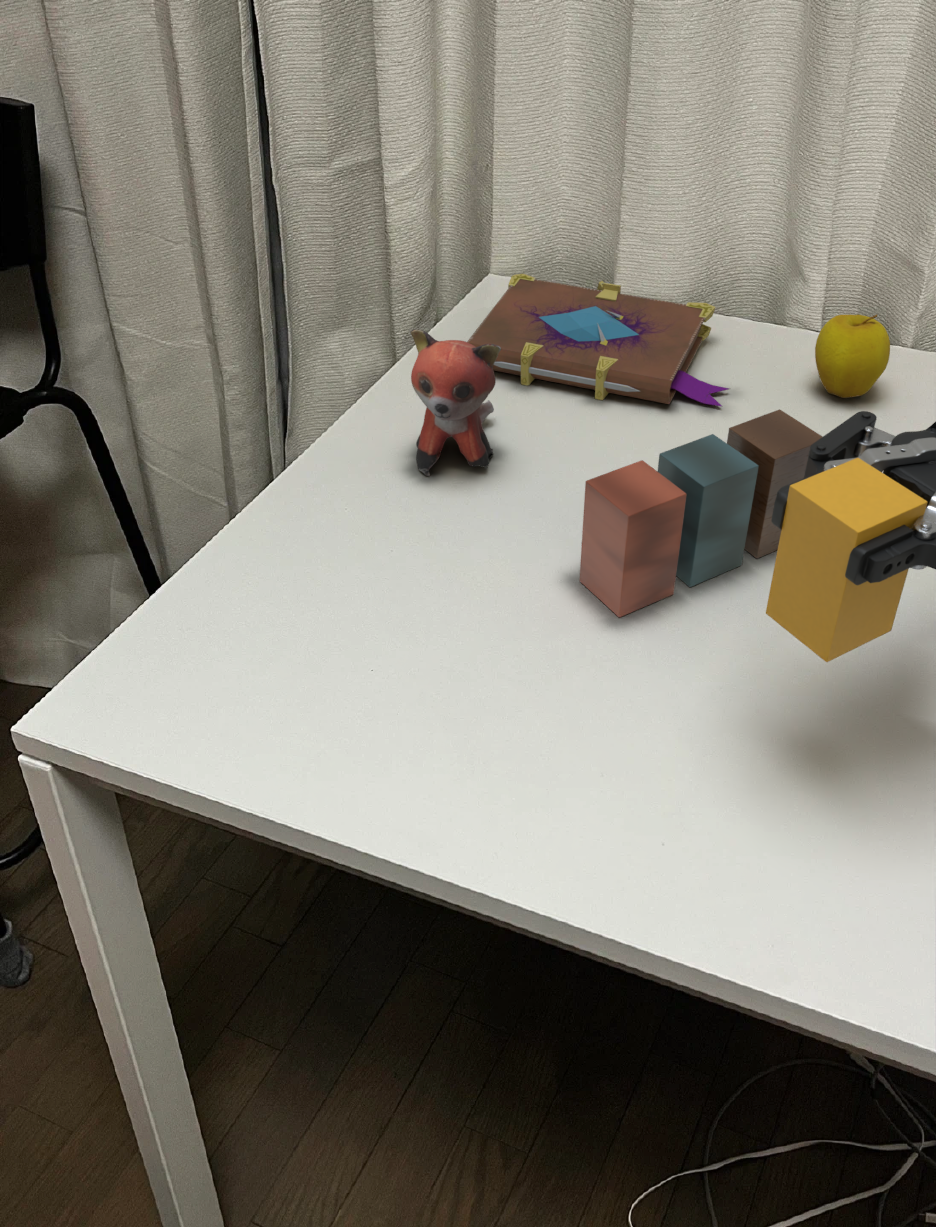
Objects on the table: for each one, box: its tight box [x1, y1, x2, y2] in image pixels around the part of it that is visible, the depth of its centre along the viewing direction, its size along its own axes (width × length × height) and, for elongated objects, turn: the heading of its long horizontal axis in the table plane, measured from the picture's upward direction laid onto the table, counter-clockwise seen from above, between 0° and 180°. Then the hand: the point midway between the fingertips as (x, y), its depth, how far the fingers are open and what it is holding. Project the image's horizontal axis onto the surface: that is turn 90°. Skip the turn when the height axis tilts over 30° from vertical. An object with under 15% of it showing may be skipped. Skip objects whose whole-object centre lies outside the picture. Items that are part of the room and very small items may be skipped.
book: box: [466, 273, 730, 407], centre depth 114 cm, size 16×25×5 cm, turn 67°
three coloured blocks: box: [578, 409, 823, 618], centre depth 88 cm, size 18×5×9 cm, turn 121°
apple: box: [814, 313, 891, 399], centre depth 107 cm, size 6×6×8 cm
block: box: [765, 458, 928, 663], centre depth 66 cm, size 5×5×9 cm
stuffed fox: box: [410, 329, 501, 477], centre depth 99 cm, size 8×11×12 cm
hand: (815, 539), depth 63 cm, fingers closed on block, 5 cm apart
